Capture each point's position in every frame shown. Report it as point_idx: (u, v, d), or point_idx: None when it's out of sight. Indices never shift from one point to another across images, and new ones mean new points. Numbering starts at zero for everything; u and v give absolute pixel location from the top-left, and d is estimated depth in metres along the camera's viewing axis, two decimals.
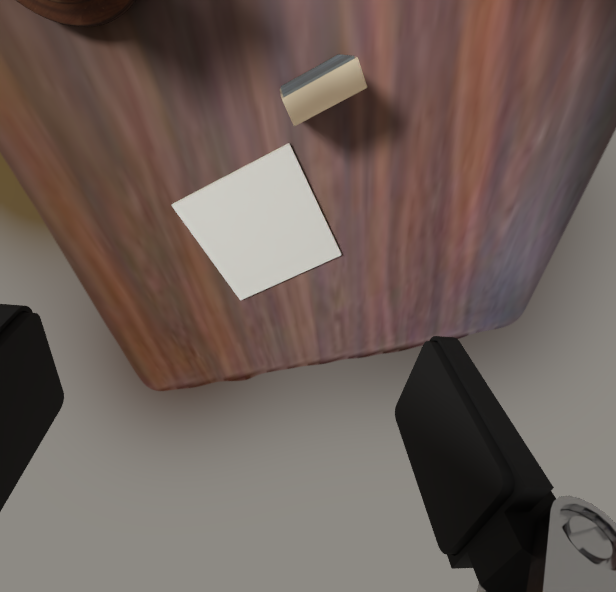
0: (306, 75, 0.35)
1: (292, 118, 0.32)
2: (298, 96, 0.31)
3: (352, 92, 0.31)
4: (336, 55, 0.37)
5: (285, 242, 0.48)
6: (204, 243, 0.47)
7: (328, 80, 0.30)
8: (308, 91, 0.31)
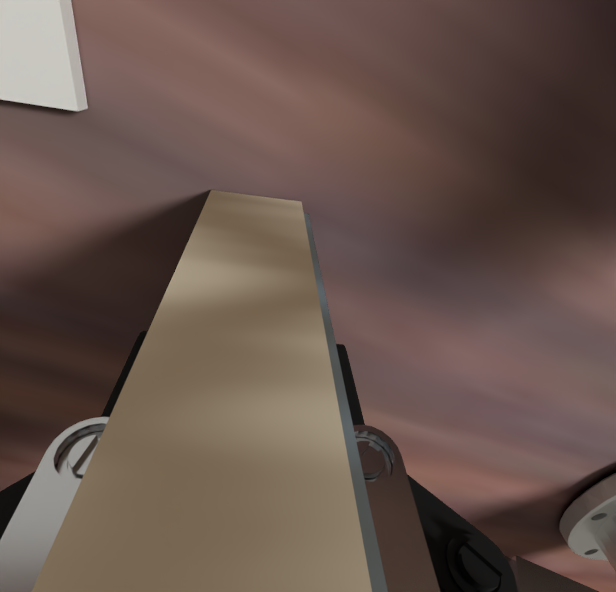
0: None
1: None
2: None
3: None
4: None
5: None
6: None
7: None
8: None
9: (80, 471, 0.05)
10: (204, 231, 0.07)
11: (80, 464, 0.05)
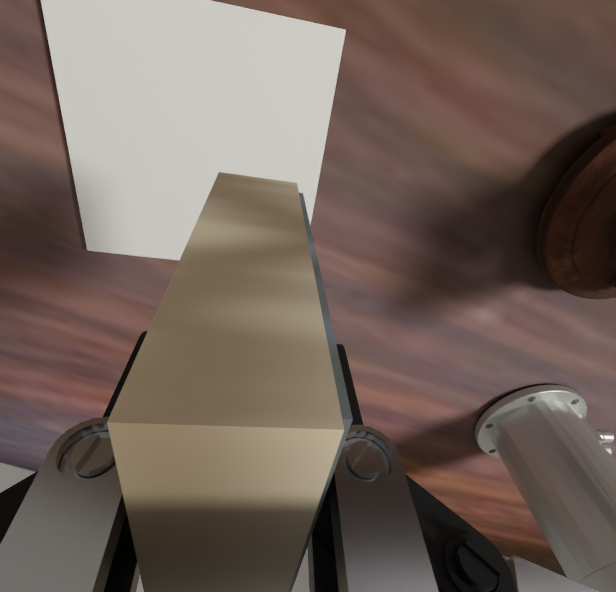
0: None
1: (175, 433, 0.04)
2: (286, 496, 0.05)
3: None
4: None
5: (157, 180, 0.24)
6: (236, 21, 0.20)
7: (263, 583, 0.06)
8: (275, 531, 0.05)
9: (82, 471, 0.05)
10: (215, 201, 0.09)
11: (82, 464, 0.05)
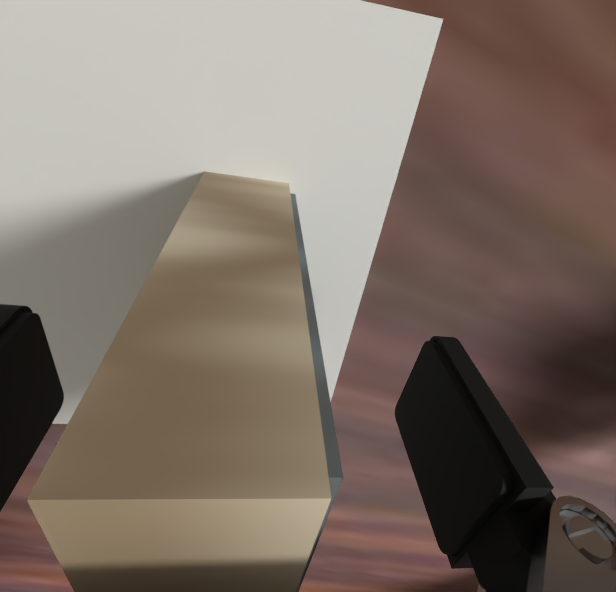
0: None
1: (117, 509, 0.03)
2: (264, 565, 0.04)
3: None
4: None
5: (49, 317, 0.12)
6: None
7: None
8: None
9: None
10: (197, 204, 0.08)
11: None
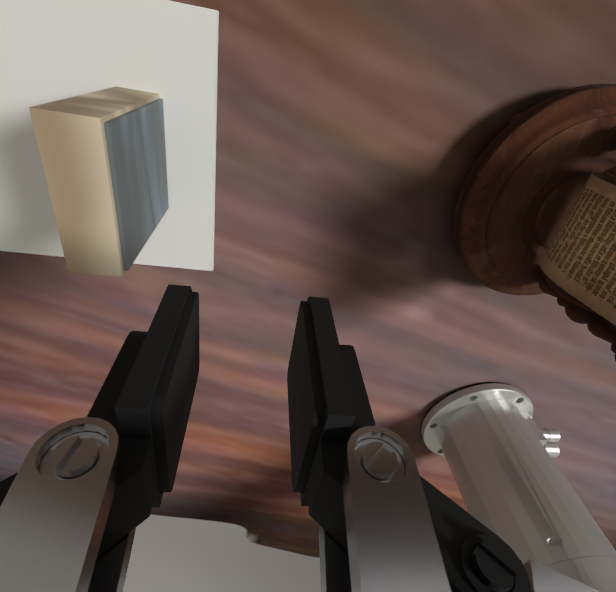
0: (151, 161, 0.20)
1: (49, 114, 0.13)
2: (92, 154, 0.14)
3: (67, 247, 0.16)
4: (168, 205, 0.24)
5: (40, 174, 0.23)
6: (96, 1, 0.18)
7: (102, 220, 0.16)
8: (95, 177, 0.15)
9: (63, 472, 0.05)
10: (103, 91, 0.18)
11: (63, 465, 0.05)
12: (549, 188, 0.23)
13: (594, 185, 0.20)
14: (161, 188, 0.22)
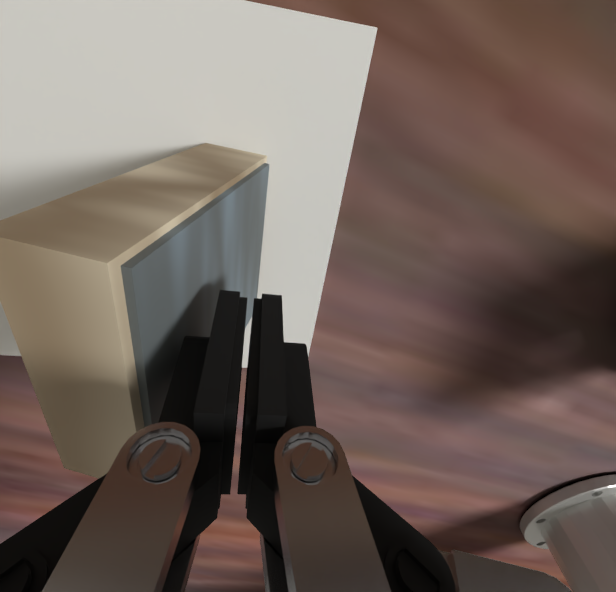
0: (234, 269, 0.12)
1: (10, 247, 0.06)
2: (95, 323, 0.07)
3: (61, 440, 0.09)
4: None
5: None
6: (189, 16, 0.11)
7: (115, 420, 0.08)
8: (101, 359, 0.07)
9: (148, 474, 0.05)
10: (177, 157, 0.11)
11: (149, 467, 0.06)
12: None
13: None
14: (247, 293, 0.14)
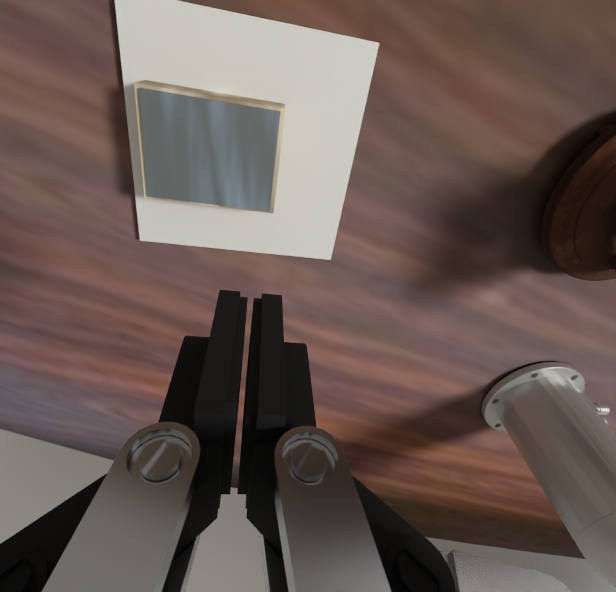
0: (226, 149, 0.24)
1: None
2: None
3: None
4: (269, 208, 0.26)
5: None
6: (284, 36, 0.23)
7: None
8: None
9: (148, 474, 0.05)
10: (246, 97, 0.24)
11: (149, 467, 0.06)
12: None
13: None
14: (250, 183, 0.25)
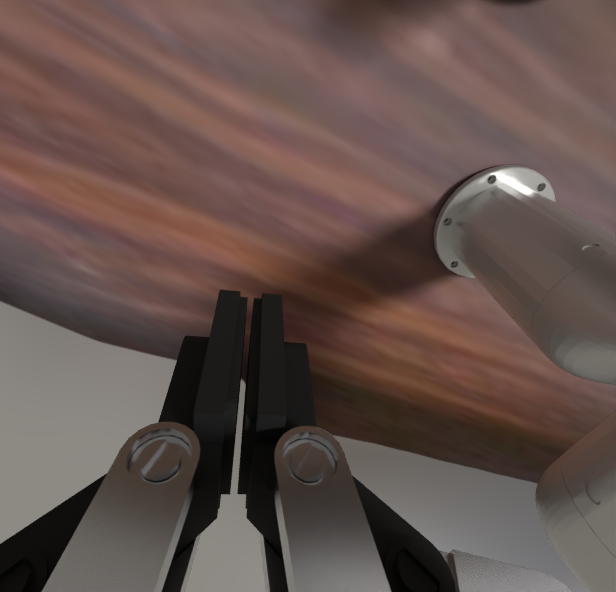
0: None
1: None
2: None
3: None
4: None
5: None
6: None
7: None
8: None
9: (148, 474, 0.05)
10: None
11: (149, 467, 0.06)
12: None
13: None
14: None
